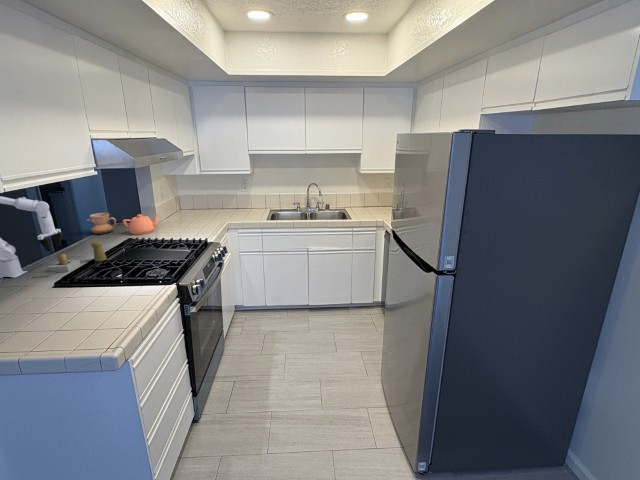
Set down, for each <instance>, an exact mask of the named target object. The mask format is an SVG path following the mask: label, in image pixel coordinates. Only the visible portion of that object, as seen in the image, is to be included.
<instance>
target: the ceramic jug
mask: <svg viewBox="0 0 640 480" xmlns="http://www.w3.org/2000/svg"><path fill="white" fill-rule="evenodd" d="M110 220H113V224H110V223H109V221H110ZM86 221H87V222H93V224H94V226H92V227H91V228H90V229H89V230H90V231H91V233H93V234H96V235H104V234H109V233H111V232H113V231H114V229H115V228H116V227H115V226H116V224H117V219H116V218H115V217H112V216H111V217H110V213H109V212H98V213H93V214H90V215H89V218H88V219H86Z"/></svg>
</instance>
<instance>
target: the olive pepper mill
mask: <svg viewBox="0 0 640 480" xmlns="http://www.w3.org/2000/svg"><path fill="white" fill-rule="evenodd" d="M91 247H92V248H93V258H94V259H93V261H94V260H95V261H94V262H96V261H98V262H103V261H106V260H107V259H108V258H107V255H106V253H105V251H104V248H103V242H102V241H100V240H95V241H92V242H91Z"/></svg>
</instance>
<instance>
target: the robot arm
mask: <svg viewBox="0 0 640 480" xmlns="http://www.w3.org/2000/svg"><path fill="white" fill-rule="evenodd" d="M0 204H1V205H8V206H13V207H15V208H16V209H18V210H21V211H28V212H35V213H36V214H37V219H38V220H37V221H38V223H39V228H40V229H41V233H40V234H39V235H37V236H36V240H37V242H38V243H40V244H41V246H42V248H43V249H44V250H45V251H46V252H51V251H52V246H51V239H52V240H53V242H54V245H55V247H57V248H58V247H61V246H62V237H63V235H64V234H63V232H62V231H61V228H56V227H55V225H54V220H53V217H52V214H51V211H50V205H49V204H48V203H47V202H46V201H43V200H39V199H35V200H33V199H29V198H27V197H25V196H22V197H18V198H16V199H15V198H11V197H6V196H2V195H1V196H0ZM49 237H50V238H49ZM16 253H17V250H16V247H15V246H14V245H11V244H9V242H8V241H5V240H3V238H1V237H0V279H4V278H3V277H6V276H8V277H12V278H11V279H13V278H14V279H15V278H17V277H20V276H22V275H23V274H25V273H28V270H23V269H22V266H21V263H20V260H19V257H18V255H16Z"/></svg>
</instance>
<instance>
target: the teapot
mask: <svg viewBox="0 0 640 480" xmlns="http://www.w3.org/2000/svg"><path fill="white" fill-rule="evenodd" d="M158 215H160V213H157V214H155V215H154V217H153V219H151V217H149V216H147V215H143V214H141V213H139V214H137V215H136V216H134V217H132V218H131V219H127V218H126V219H123V220H122V224H123V225H124V226H126V228H128V232H129V233H130V234H131V235H133V236H138V235H139V236H140V235H147V234H151V233H153V232H154V231H155V229H156V227H157V225H158ZM127 222H129V224H128V223H127Z"/></svg>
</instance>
